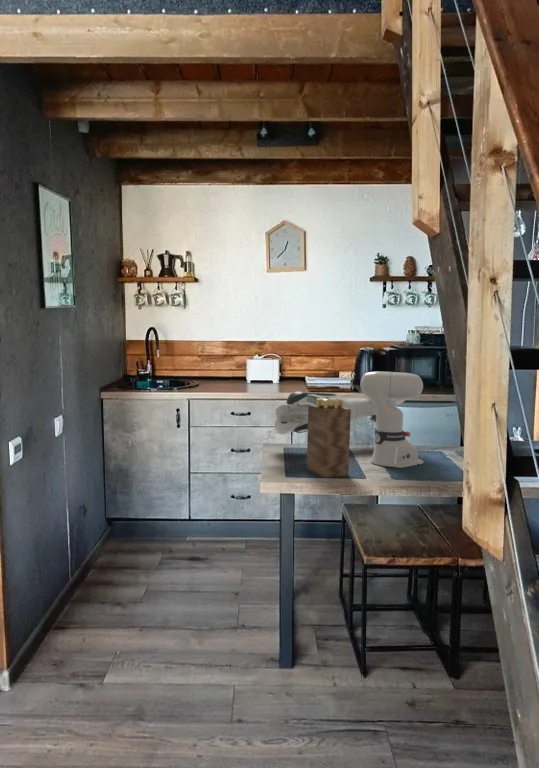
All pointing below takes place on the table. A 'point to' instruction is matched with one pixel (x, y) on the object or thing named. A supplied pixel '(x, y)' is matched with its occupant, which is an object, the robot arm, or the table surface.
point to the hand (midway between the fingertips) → (307, 403)
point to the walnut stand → (328, 441)
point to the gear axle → (325, 401)
